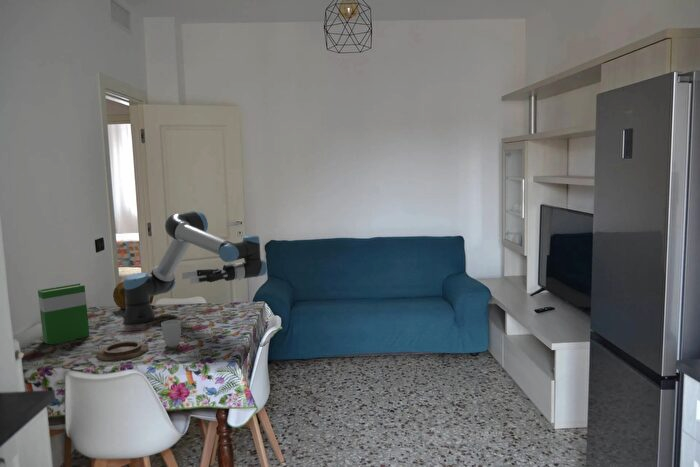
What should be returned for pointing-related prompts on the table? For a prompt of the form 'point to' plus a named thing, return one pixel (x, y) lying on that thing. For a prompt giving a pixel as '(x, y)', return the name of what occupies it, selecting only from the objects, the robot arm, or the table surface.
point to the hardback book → (63, 313)
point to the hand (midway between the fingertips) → (186, 278)
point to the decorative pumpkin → (122, 296)
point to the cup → (171, 332)
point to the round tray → (116, 358)
